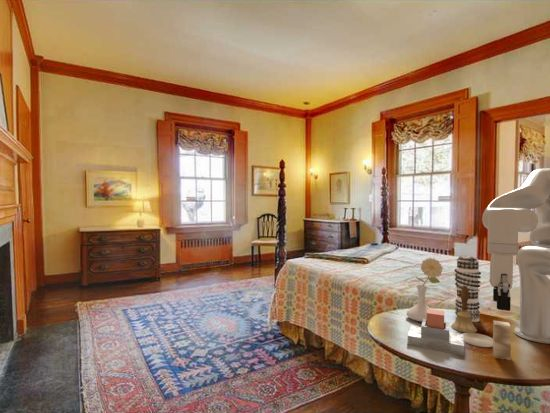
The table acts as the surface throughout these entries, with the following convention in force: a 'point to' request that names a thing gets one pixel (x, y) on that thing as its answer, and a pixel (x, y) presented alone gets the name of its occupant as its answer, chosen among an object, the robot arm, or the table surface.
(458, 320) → the hand bell
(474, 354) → the table surface
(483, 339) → the coaster
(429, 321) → the button
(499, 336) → the pale wood brick
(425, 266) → the flower in vase
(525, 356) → the table surface
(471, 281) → the decorative candle
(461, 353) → the base
